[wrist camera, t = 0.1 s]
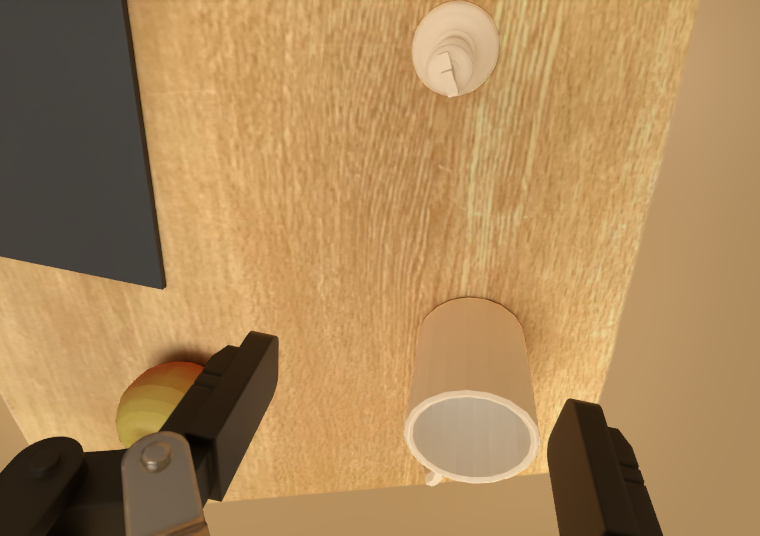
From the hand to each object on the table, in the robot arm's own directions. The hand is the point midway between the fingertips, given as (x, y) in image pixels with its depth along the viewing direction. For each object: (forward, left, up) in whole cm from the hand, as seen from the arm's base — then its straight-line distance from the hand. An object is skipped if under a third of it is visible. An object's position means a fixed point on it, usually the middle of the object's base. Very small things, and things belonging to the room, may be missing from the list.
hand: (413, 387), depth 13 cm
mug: (+16, +4, -20) cm, 26 cm away
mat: (+4, -29, -20) cm, 35 cm away
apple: (+26, -19, -20) cm, 38 cm away
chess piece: (-6, -1, -20) cm, 21 cm away
